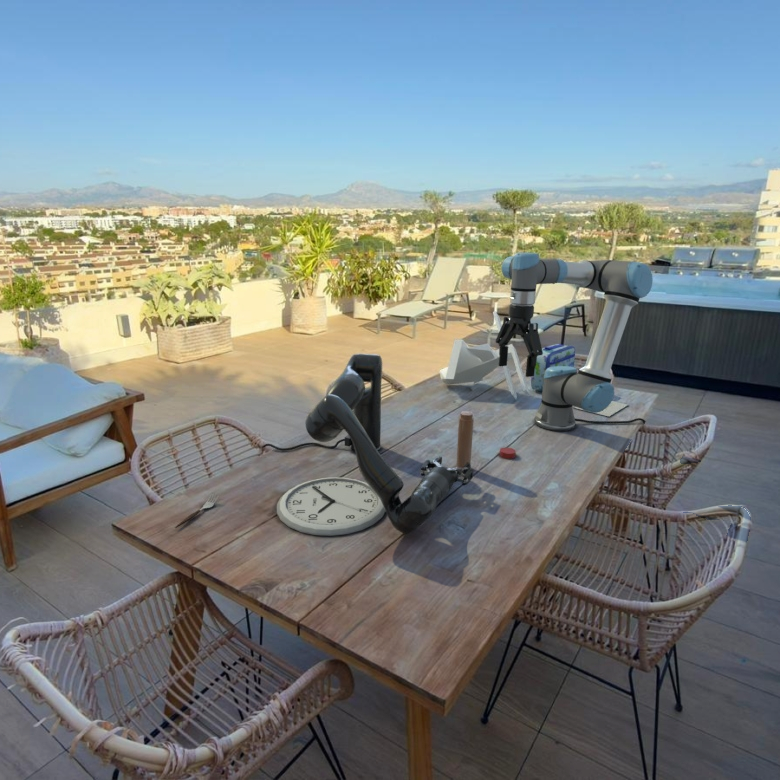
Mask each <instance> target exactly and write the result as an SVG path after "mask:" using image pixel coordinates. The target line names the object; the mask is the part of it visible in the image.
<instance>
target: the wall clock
mask: <svg viewBox="0 0 780 780" xmlns="http://www.w3.org/2000/svg"><path fill="white" fill-rule="evenodd" d="M385 514H386V510H385V508H384V507H383V504H382V502H381V500H380V498H379V497H378V496H377V495H376V493H375V492H374V491H373V490H372V489H371V487H370V486H369V485H368V484H367V483H366V481H362V480H359V479H355V478H349V477H338V476H337V477H335V476H333V477H332V476H331V477H322V478H317V479H312V480H307V481H305V482H302V483H299V484H297V485H295V486H293V487H292V488H290V489H288V490H287V491H286V492H285V493H284V494H283V495H281V496H280V498H279V499H278V502H277V503H276V515H277V517H278V518H279V520H280V521H281V522H282V523H283V524H285V525H286V526H287V527H288V528H290V529H293V530H295V531H297V532H299V533H303V534H308V535H312V536H327V537H328V536H329V537H331V536H332V537H333V536H342V535H350V534H352V533H356V532H361V531H363V530H366V529H368V528H369V527H372V526H373V525H375V524H376V523H378V522H379V521H380V520H381V519H382V518H383V517H384V516H385Z"/></svg>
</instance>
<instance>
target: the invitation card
mask: <svg viewBox="0 0 780 780" xmlns="http://www.w3.org/2000/svg"><path fill="white" fill-rule="evenodd" d="M628 406H629V404H627V403H623V402H618V401H614V400H612V401H611V403H610V404H609V406H608V407H607V408H606V409H604V410H603V411H601V412H597V413H594V412H590V411H586V410H583V409H581V408H578V407H576V406H573V409H575V410H581V411H584V412H587V413H593V414H596V415H600V416H604V417H608V418H609V417H611V416H613V415H614V414H616V413H617V412H619V411H621V410H623V409H624V408H626V407H628Z"/></svg>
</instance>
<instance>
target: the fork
mask: <svg viewBox="0 0 780 780" xmlns="http://www.w3.org/2000/svg"><path fill="white" fill-rule="evenodd" d="M219 496H220V494H218V493H213V492H212V493H211V494H210V497H208V500H207V501H206V502H205V503H204V504H203V505H202V507H201V508H200V509H198V510H196V511H194V512H193V513H191V514H189V515H188V516H187V517H185V518H184V519H183V520H182V521H181V522H179V523H178V524H177V525H175V527H174V528H175V529H177V528H179V527H180V526H182V525H184V524H185V523H187V522H189V521H190V520H192V519H194V517H196V516H197V515H198V514H199V513H201V511H203V510H204V509H210V508H212V507H213V506H214V505H215V504H216V502H217V500H218V498H219Z"/></svg>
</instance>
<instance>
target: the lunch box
mask: <svg viewBox="0 0 780 780" xmlns="http://www.w3.org/2000/svg"><path fill="white" fill-rule="evenodd" d="M542 352H543V354H542V355H539V356H537V362H536V366H535V371H534V376H531V377H530V387H531V389H532V390H536V391H539V392H540V391H541V392H542V390H543V380H544V379H543V378H544V374H545V370H546V369H547V368H549V367H555V366H569V367H575V360H576V358H575V357H576V349H575V346H572V345H565V344H560V343H555V344H552V345H547V346H545V347H542Z"/></svg>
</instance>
